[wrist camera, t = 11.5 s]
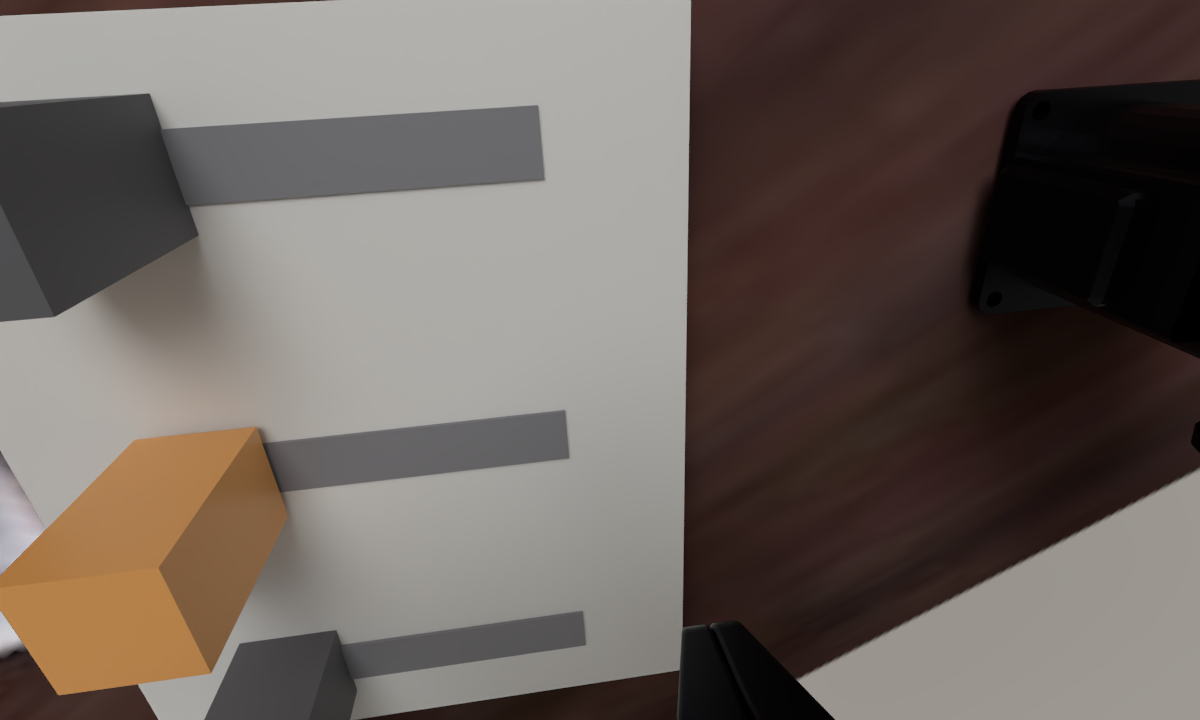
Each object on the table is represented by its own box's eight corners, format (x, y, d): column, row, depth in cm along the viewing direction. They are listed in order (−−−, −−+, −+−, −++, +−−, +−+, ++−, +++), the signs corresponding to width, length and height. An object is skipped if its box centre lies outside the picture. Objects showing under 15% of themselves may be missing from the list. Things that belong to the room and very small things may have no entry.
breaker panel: (669, -8, 15) (783, -56, 9) (669, 625, 25) (722, 816, 19) (-147, 31, 13) (-729, 8, 7) (200, 694, 23) (85, 929, 17)
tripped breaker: (256, 426, 16) (158, 568, 12) (287, 516, 17) (211, 673, 13) (134, 439, 16) (-13, 589, 11) (176, 529, 17) (58, 695, 13)
